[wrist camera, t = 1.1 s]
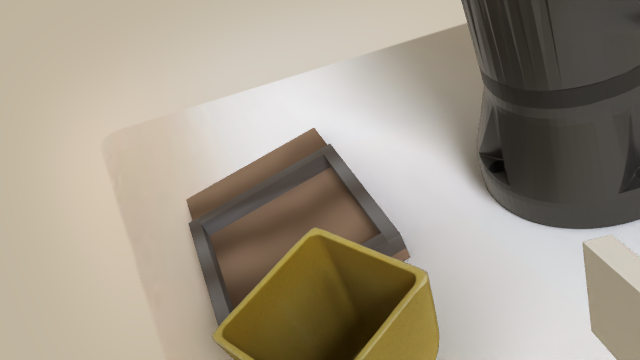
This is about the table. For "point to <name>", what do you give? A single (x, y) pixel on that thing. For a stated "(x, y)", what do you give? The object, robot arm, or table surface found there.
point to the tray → (281, 216)
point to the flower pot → (334, 307)
